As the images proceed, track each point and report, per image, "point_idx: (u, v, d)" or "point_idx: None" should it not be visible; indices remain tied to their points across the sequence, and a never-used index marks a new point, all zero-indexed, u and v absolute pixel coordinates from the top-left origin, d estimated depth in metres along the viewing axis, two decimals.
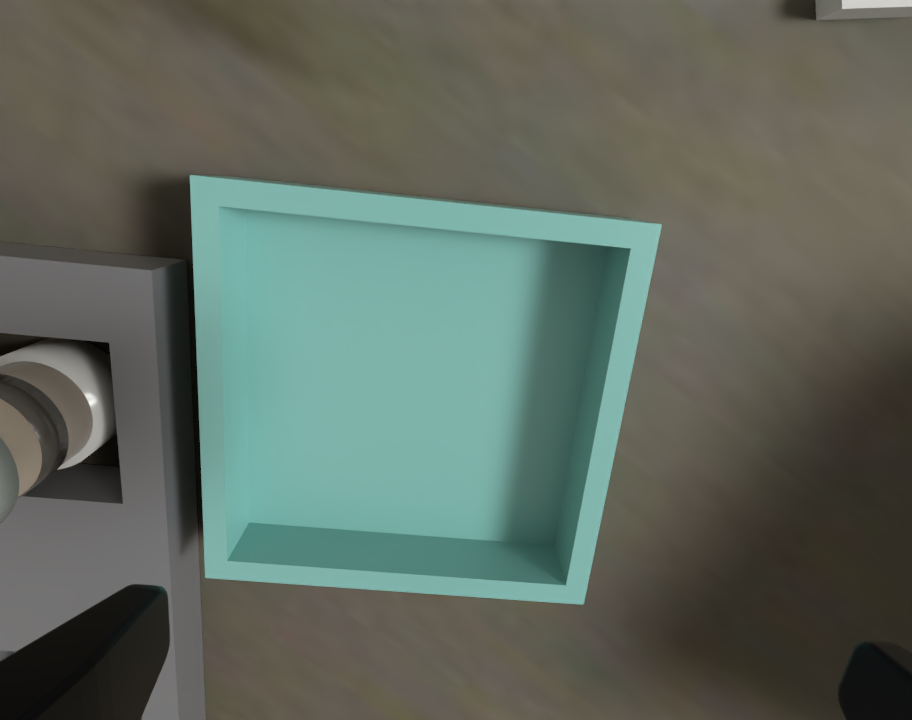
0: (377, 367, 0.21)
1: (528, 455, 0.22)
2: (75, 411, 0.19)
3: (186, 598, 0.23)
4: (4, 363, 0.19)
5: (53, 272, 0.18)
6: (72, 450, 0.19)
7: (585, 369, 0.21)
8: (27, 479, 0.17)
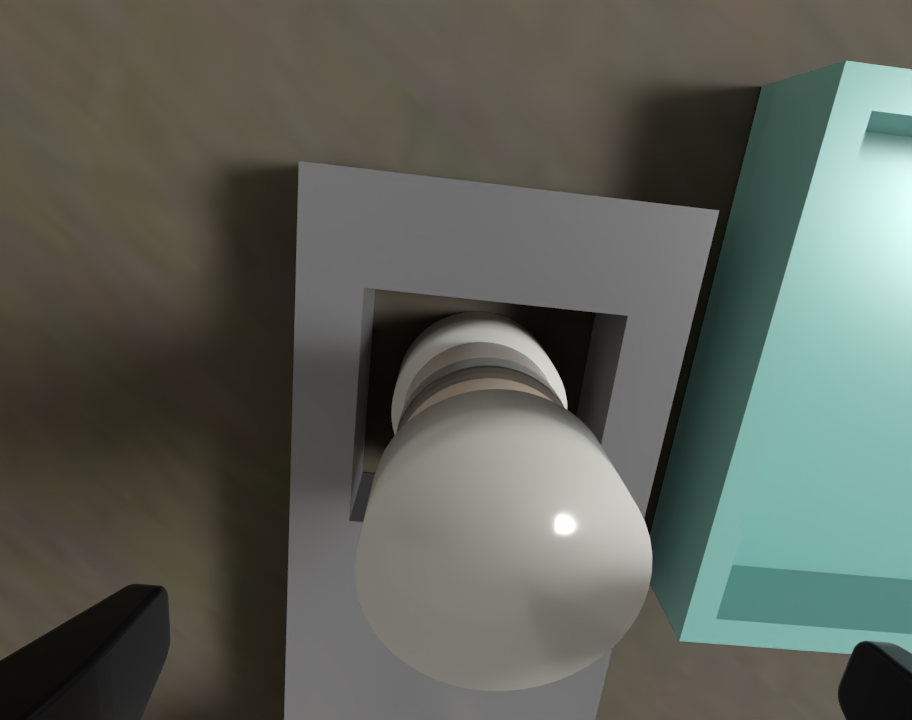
0: (907, 356, 0.15)
1: None
2: None
3: None
4: (455, 344, 0.13)
5: (579, 211, 0.12)
6: None
7: None
8: None
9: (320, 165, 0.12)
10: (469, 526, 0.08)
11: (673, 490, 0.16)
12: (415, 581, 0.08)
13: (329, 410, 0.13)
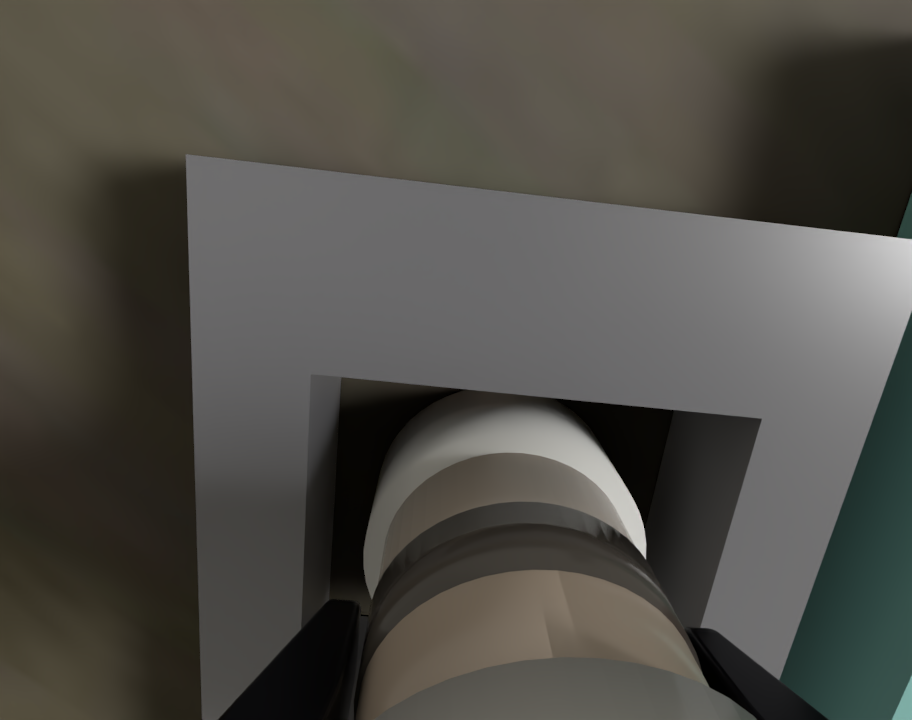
0: None
1: None
2: None
3: None
4: (466, 457, 0.08)
5: (689, 244, 0.07)
6: None
7: None
8: None
9: (225, 162, 0.06)
10: None
11: None
12: None
13: (258, 567, 0.08)
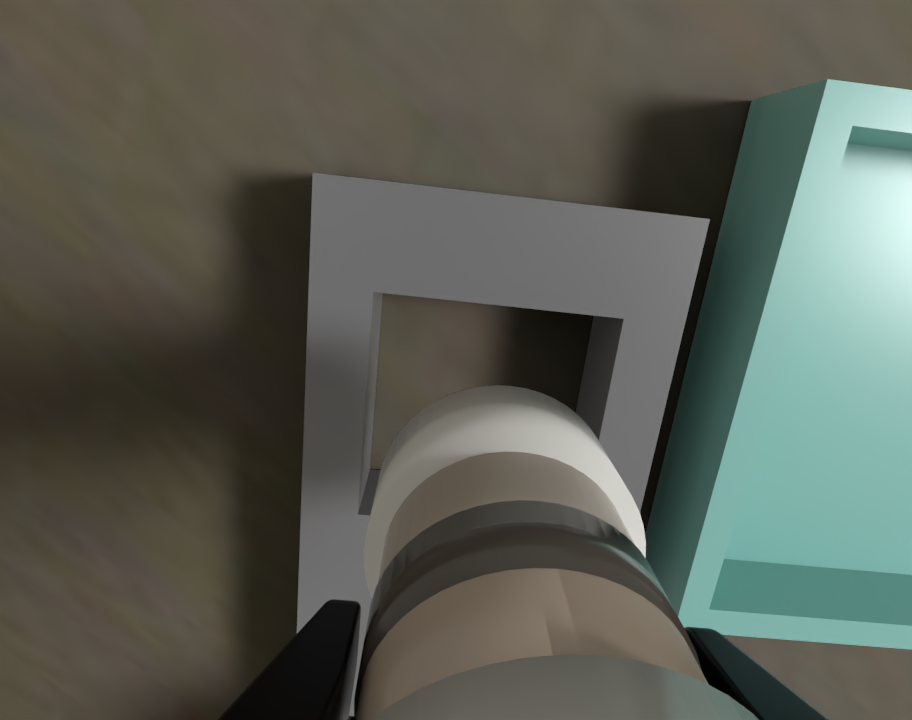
0: (893, 358, 0.16)
1: None
2: None
3: None
4: (467, 456, 0.08)
5: (577, 220, 0.13)
6: None
7: None
8: None
9: (333, 176, 0.12)
10: None
11: (668, 486, 0.17)
12: None
13: (339, 408, 0.14)
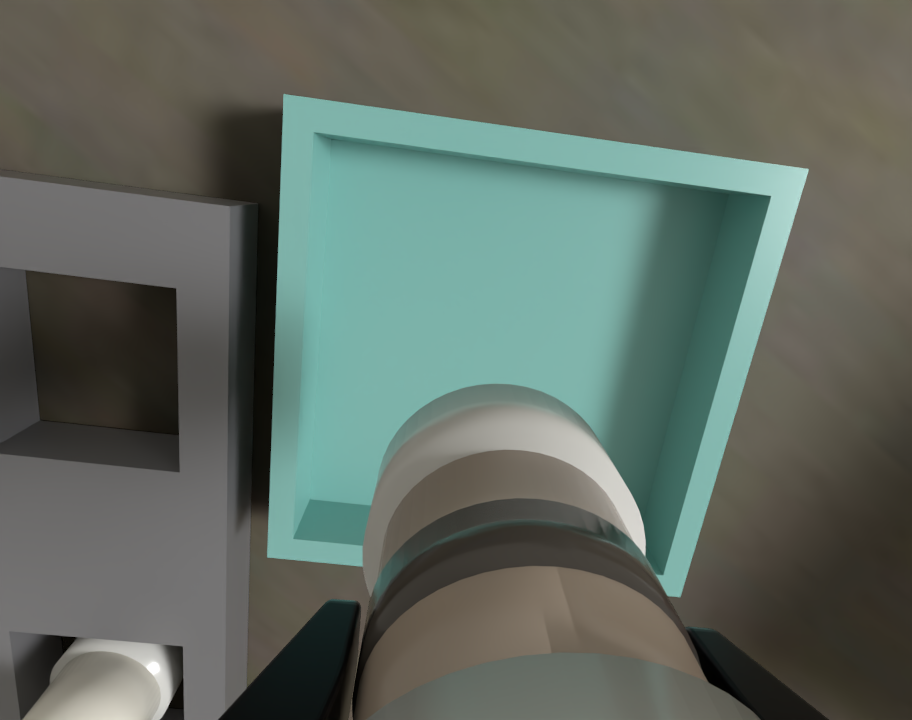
0: (463, 329, 0.19)
1: (620, 432, 0.20)
2: None
3: (238, 580, 0.21)
4: (466, 454, 0.08)
5: (119, 205, 0.16)
6: None
7: (690, 338, 0.19)
8: None
9: None
10: None
11: None
12: None
13: None
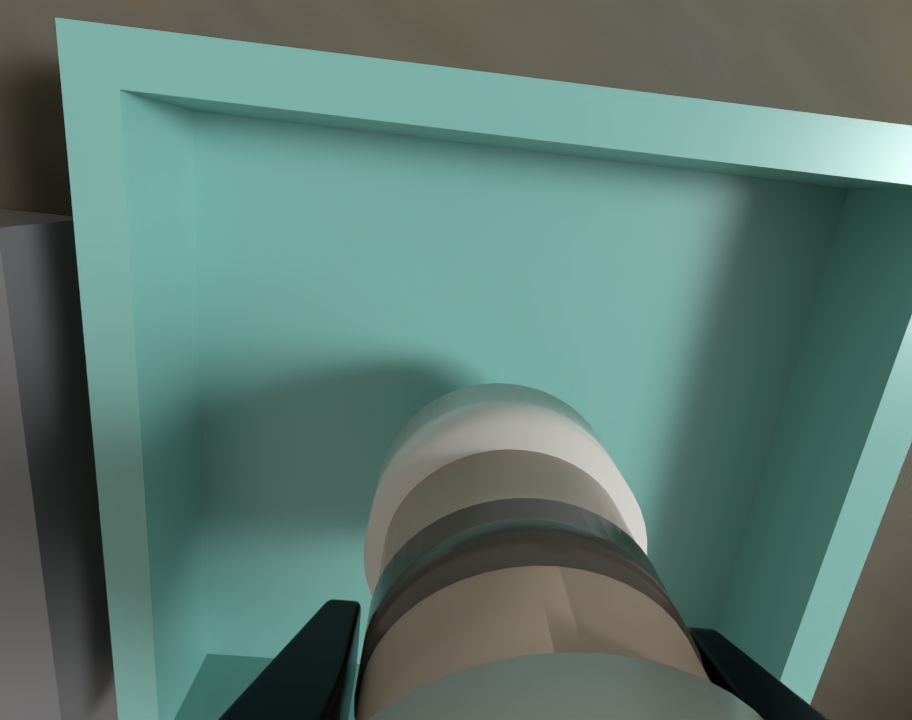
0: None
1: (668, 552, 0.13)
2: None
3: None
4: (467, 454, 0.08)
5: None
6: None
7: (779, 414, 0.12)
8: None
9: None
10: None
11: None
12: None
13: None
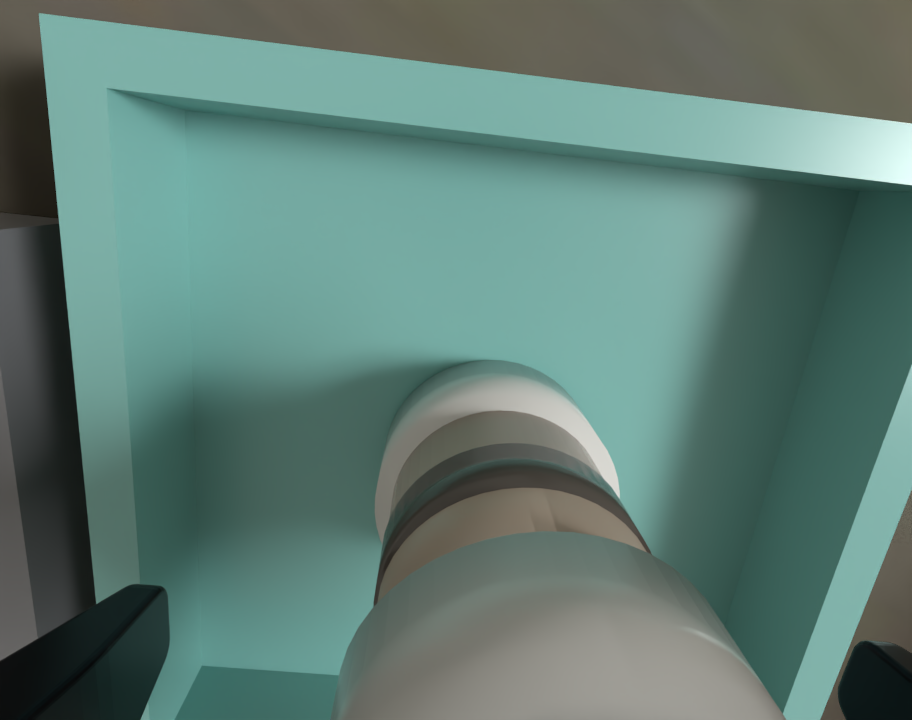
0: None
1: (673, 562, 0.13)
2: None
3: None
4: (466, 414, 0.09)
5: None
6: None
7: (788, 422, 0.12)
8: None
9: None
10: None
11: None
12: None
13: None
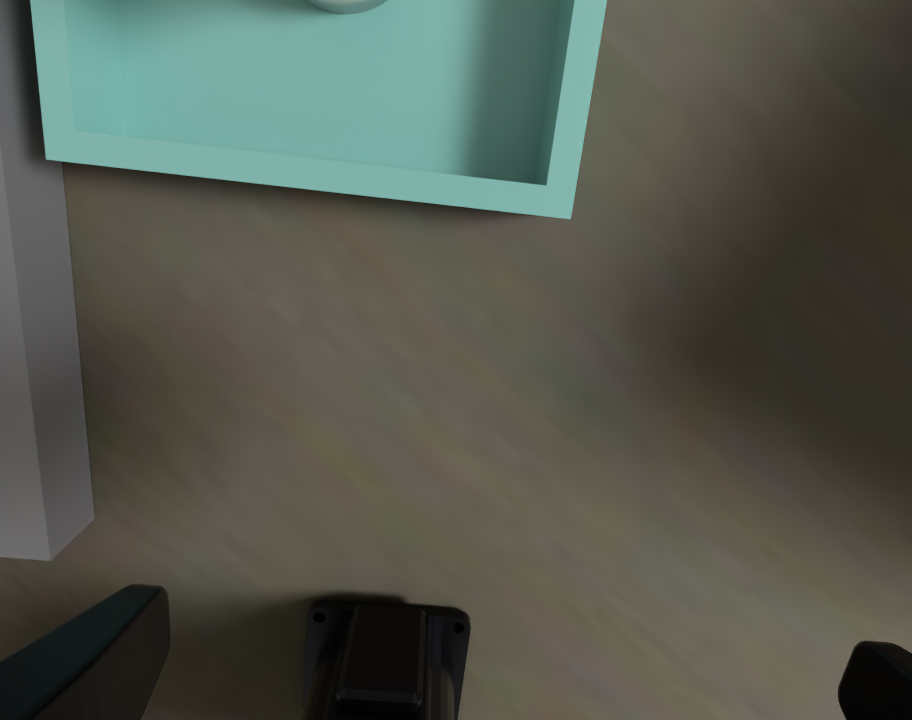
0: None
1: (498, 35, 0.16)
2: None
3: (41, 242, 0.17)
4: None
5: None
6: None
7: None
8: None
9: None
10: None
11: None
12: None
13: None
